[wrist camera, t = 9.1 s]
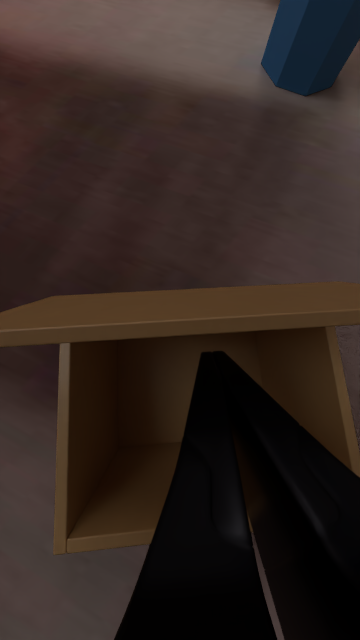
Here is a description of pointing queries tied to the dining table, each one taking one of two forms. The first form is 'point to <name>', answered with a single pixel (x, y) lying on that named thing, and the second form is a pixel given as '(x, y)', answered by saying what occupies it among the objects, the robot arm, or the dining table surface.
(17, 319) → the bin flap
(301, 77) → the water bottle
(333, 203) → the dining table surface
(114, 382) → the kraft bin
